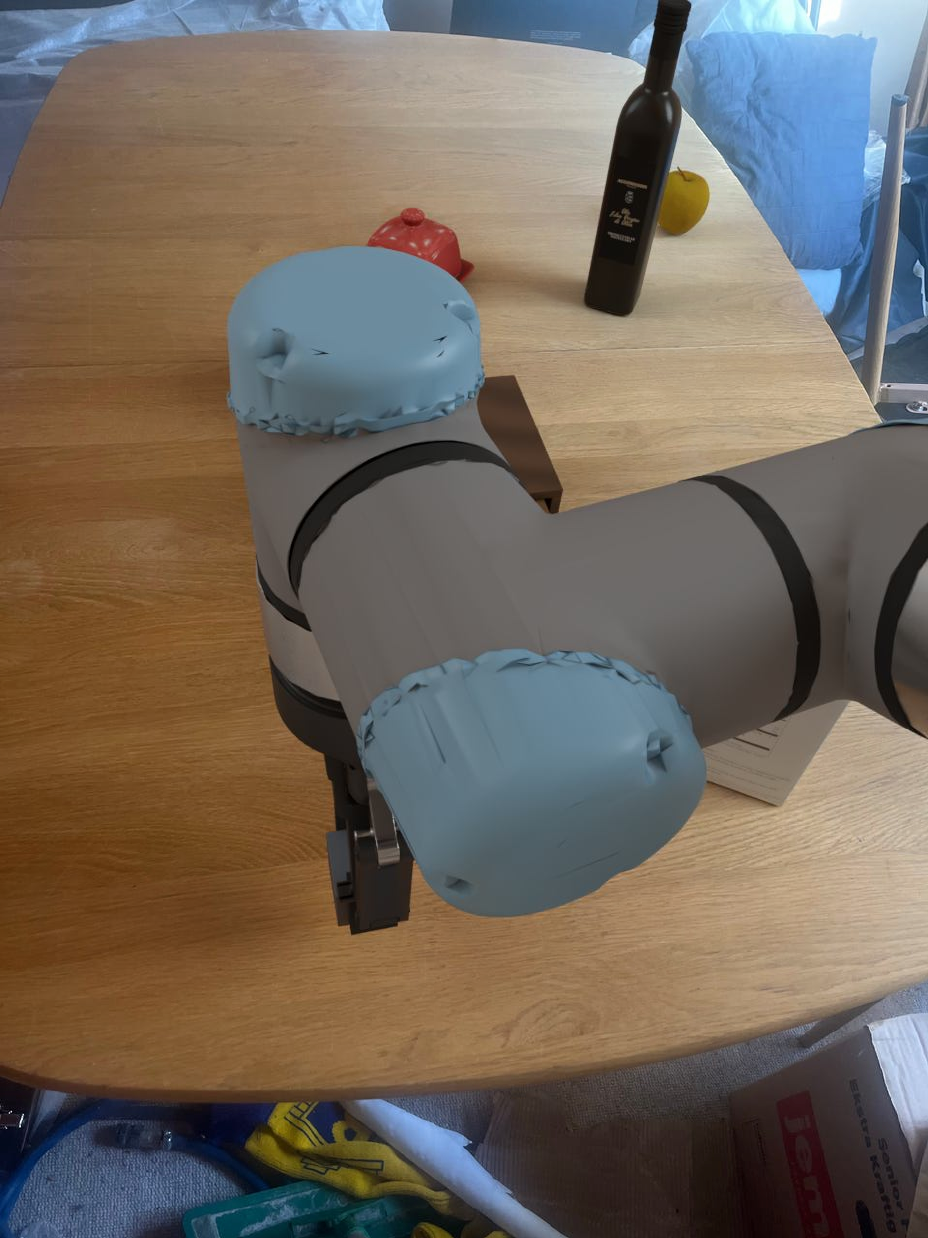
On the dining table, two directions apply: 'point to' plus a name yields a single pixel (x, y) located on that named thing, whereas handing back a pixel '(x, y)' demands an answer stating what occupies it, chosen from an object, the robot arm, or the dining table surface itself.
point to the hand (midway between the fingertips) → (366, 886)
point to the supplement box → (772, 753)
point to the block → (338, 869)
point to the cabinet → (518, 438)
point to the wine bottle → (638, 171)
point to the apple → (683, 201)
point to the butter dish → (423, 242)
